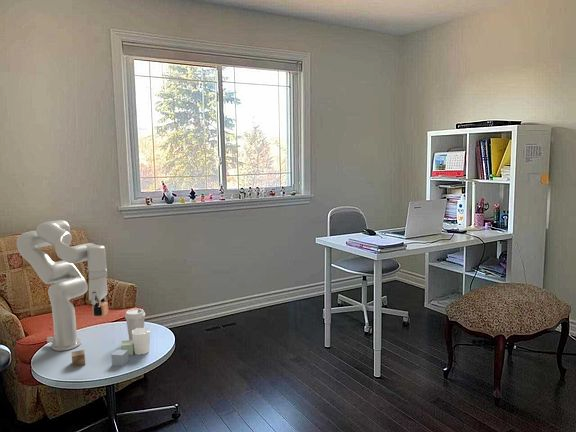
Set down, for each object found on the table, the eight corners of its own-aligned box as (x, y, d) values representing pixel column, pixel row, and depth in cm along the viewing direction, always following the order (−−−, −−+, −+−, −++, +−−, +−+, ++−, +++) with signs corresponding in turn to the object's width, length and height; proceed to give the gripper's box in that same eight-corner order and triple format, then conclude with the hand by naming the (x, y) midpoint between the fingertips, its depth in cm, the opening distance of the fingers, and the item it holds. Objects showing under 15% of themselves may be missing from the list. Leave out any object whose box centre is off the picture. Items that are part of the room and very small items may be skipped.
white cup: (135, 348, 212) (133, 328, 210) (152, 347, 212) (151, 327, 211) (130, 355, 204) (129, 334, 202) (148, 355, 205) (147, 334, 203)
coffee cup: (140, 345, 214) (138, 315, 212) (122, 344, 216) (120, 314, 214) (150, 337, 223) (148, 308, 221) (132, 336, 225) (131, 307, 223)
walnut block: (72, 367, 193) (71, 356, 193) (72, 362, 198) (71, 351, 197) (85, 365, 196) (84, 354, 195) (84, 360, 200) (84, 349, 199)
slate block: (112, 365, 195) (111, 354, 194) (118, 360, 200) (117, 349, 199) (122, 366, 194) (122, 355, 194) (128, 360, 199) (128, 350, 198)
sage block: (121, 355, 204) (120, 345, 203) (122, 351, 209) (122, 341, 208) (133, 354, 205) (132, 344, 204) (134, 350, 210) (133, 339, 209)
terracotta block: (92, 316, 198) (91, 305, 198) (97, 312, 203) (96, 301, 203) (104, 316, 199) (103, 305, 198) (108, 312, 203) (107, 301, 203)
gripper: (96, 268, 207) (99, 306, 209) (80, 279, 190) (83, 320, 192) (113, 268, 207) (115, 306, 209) (98, 279, 190) (101, 320, 193)
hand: (100, 312), depth 201 cm, fingers closed on terracotta block, 4 cm apart
